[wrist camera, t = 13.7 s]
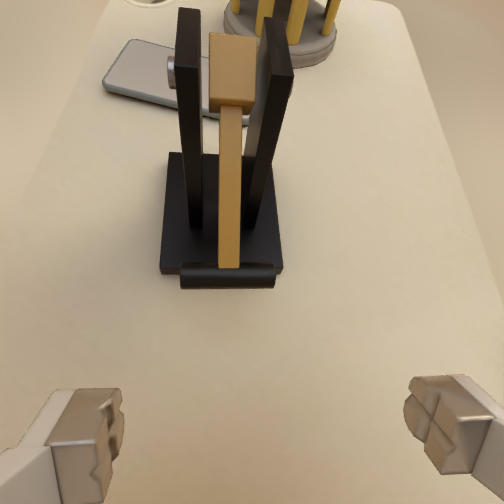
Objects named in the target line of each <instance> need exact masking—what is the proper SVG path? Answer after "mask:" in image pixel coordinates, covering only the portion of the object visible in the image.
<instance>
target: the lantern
mask: <svg viewBox="0 0 504 504" xmlns="http://www.w3.org/2000/svg"><path fill="white" fill-rule="evenodd" d="M340 1H341V0H328V1H327V4H326V8H324V7H323V6H322V5H321V4H319V3H318V2H316V1H315V0H230V2H229V3H228V5H227V7H226V9H225V11H224V30H225V34H230V35H239V36H249V37H256V38H257V60H258V53H259V46H260V39H261V32H262V25H263V18H264V17H273V18H282V19H284V24H285V29H286V34H287V40H288V45H289V51H290V56H291V61H292V67H293V68H301V67H306V66H312V65H315V64H317V63H319V62H321V61H323V60H325V59H326V58H327V57H328V55H329V54H330V53H331V52H332V50H333V47H334V44H335V41H336V34H337V29H336V25H335V23H334V20H335V16H336V13H337V10H338V7H339V4H340Z"/></svg>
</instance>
